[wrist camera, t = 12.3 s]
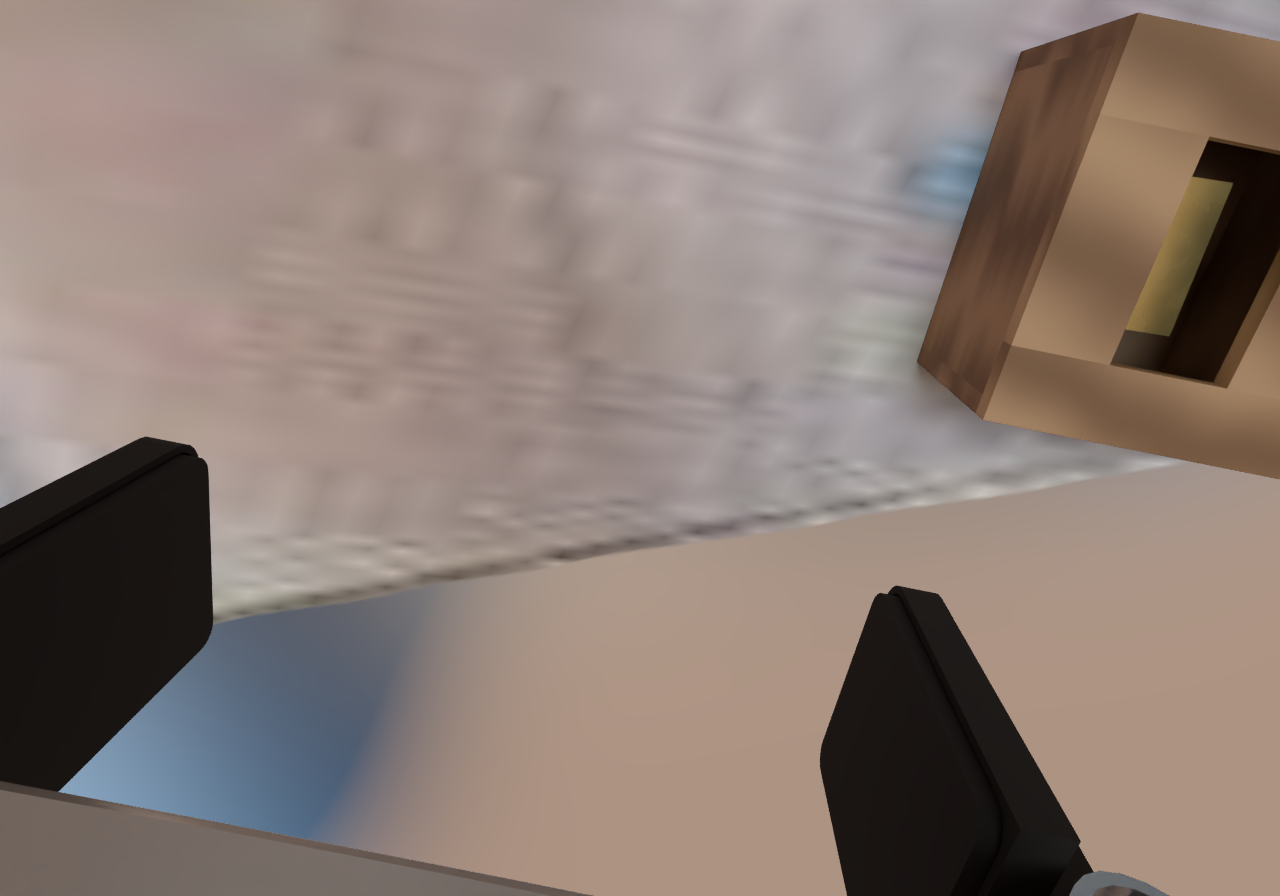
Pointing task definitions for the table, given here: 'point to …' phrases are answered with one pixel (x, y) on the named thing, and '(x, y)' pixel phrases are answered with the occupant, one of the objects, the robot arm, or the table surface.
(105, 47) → the table surface
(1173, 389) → the coin box
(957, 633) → the robot arm
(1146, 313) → the yellow rectangular block
